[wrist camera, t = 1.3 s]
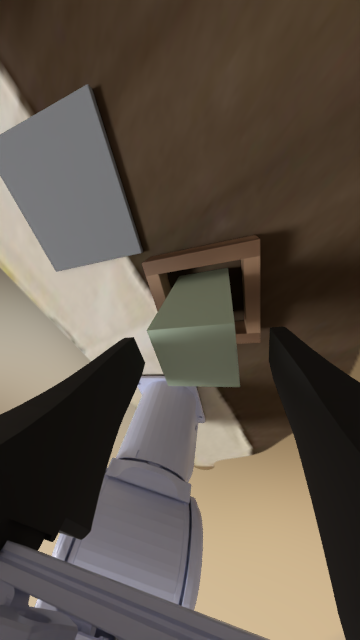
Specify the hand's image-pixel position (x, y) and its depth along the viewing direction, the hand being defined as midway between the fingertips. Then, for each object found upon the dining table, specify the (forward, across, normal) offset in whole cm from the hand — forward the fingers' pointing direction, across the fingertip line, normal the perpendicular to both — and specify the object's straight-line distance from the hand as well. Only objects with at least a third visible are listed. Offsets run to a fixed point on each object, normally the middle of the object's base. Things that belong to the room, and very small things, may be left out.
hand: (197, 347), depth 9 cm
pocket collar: (+7, 0, 0) cm, 7 cm away
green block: (+7, 0, 0) cm, 7 cm away
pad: (+7, +9, -9) cm, 15 cm away
